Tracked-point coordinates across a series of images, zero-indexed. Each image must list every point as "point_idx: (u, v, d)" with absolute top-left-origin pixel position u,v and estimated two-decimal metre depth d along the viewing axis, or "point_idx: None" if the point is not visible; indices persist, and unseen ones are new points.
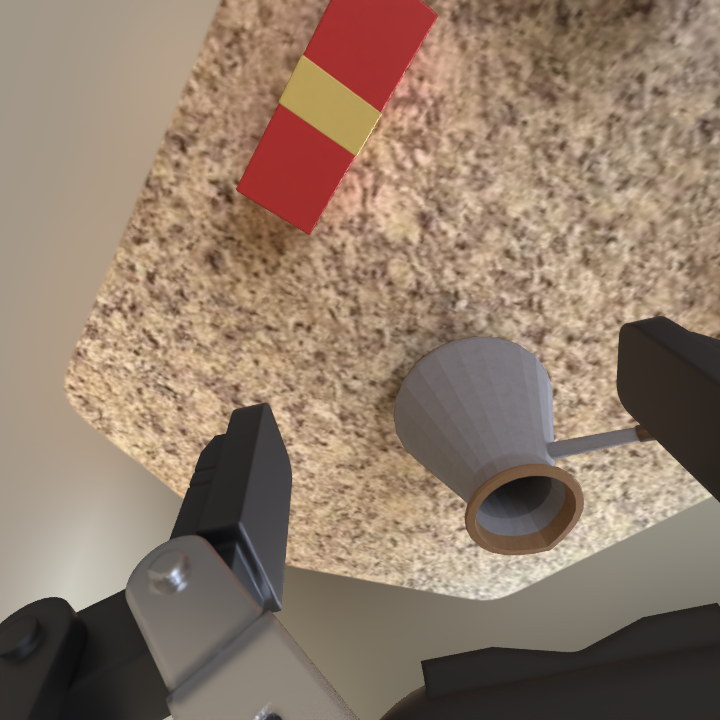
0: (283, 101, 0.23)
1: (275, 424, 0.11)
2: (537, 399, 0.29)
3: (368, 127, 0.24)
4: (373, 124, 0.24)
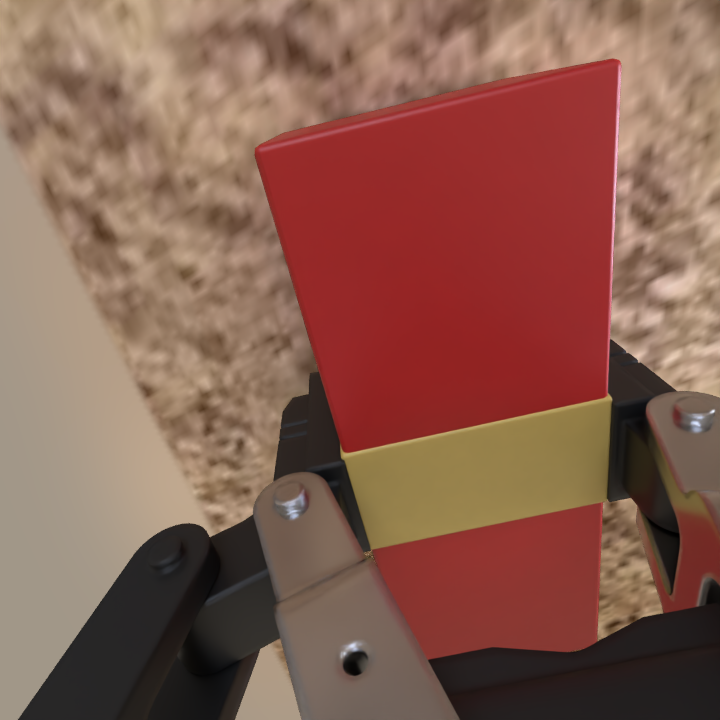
0: (377, 543, 0.09)
1: None
2: None
3: (598, 443, 0.08)
4: (605, 426, 0.08)
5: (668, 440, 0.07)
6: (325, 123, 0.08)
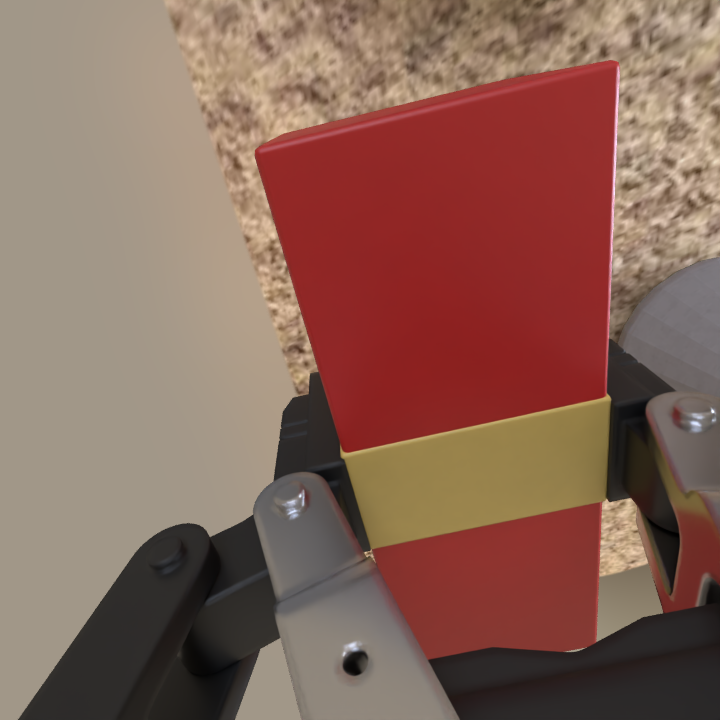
0: (377, 543, 0.09)
1: None
2: None
3: (597, 443, 0.08)
4: (603, 426, 0.08)
5: (668, 440, 0.07)
6: (325, 124, 0.08)
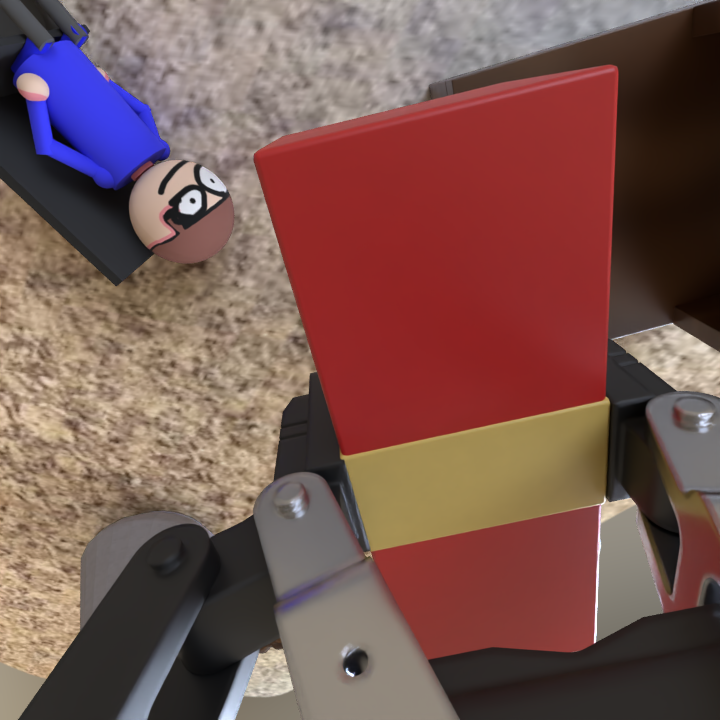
0: (376, 545, 0.09)
1: None
2: None
3: (596, 446, 0.08)
4: (602, 429, 0.08)
5: (668, 440, 0.07)
6: (324, 127, 0.08)
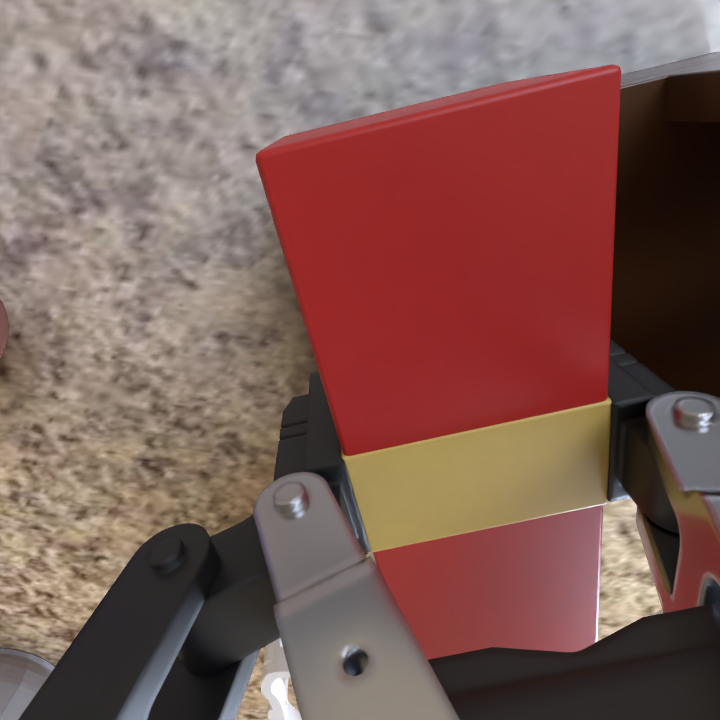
0: (378, 546, 0.09)
1: None
2: None
3: (598, 446, 0.08)
4: (604, 429, 0.08)
5: (668, 440, 0.07)
6: (326, 127, 0.08)
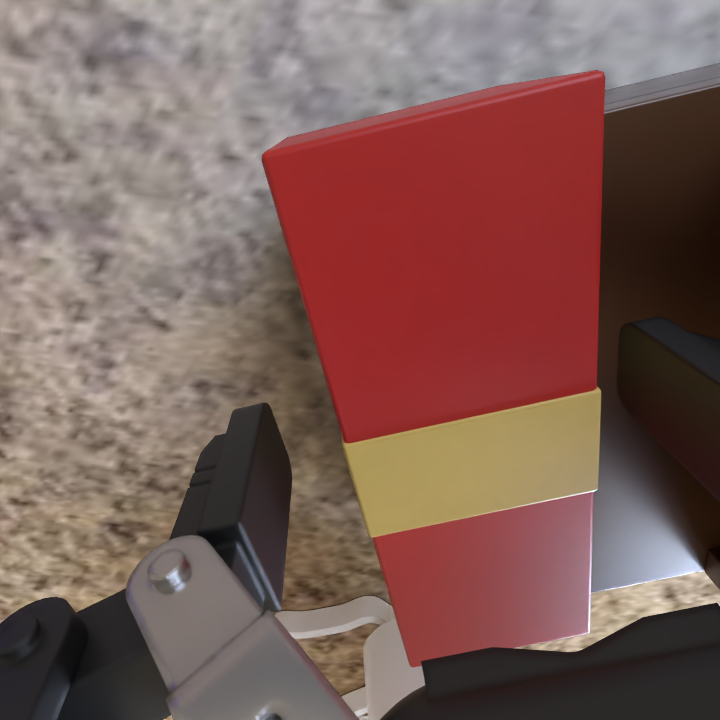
0: (377, 531, 0.09)
1: (275, 424, 0.11)
2: None
3: (588, 434, 0.08)
4: (594, 417, 0.08)
5: None
6: (327, 128, 0.09)
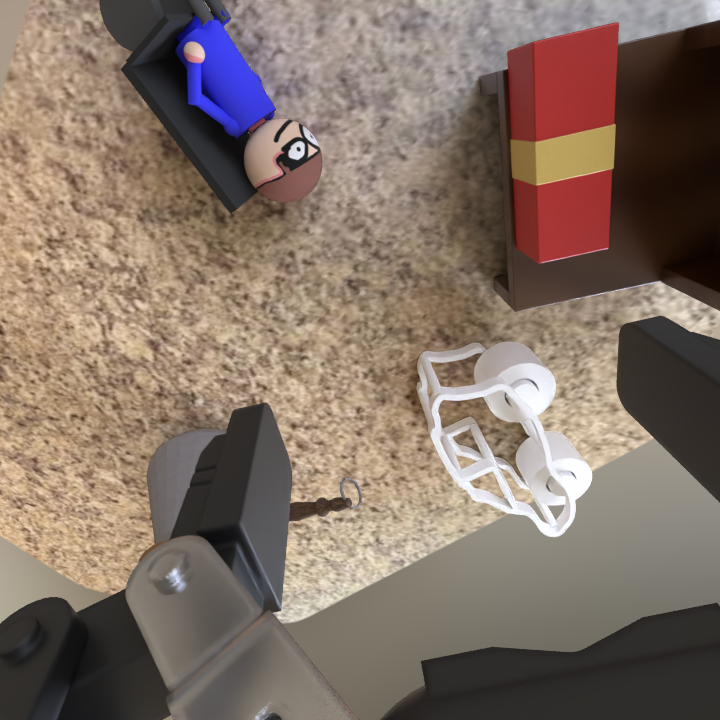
0: (539, 182, 0.27)
1: (275, 424, 0.11)
2: None
3: (611, 142, 0.27)
4: (613, 136, 0.27)
5: None
6: None
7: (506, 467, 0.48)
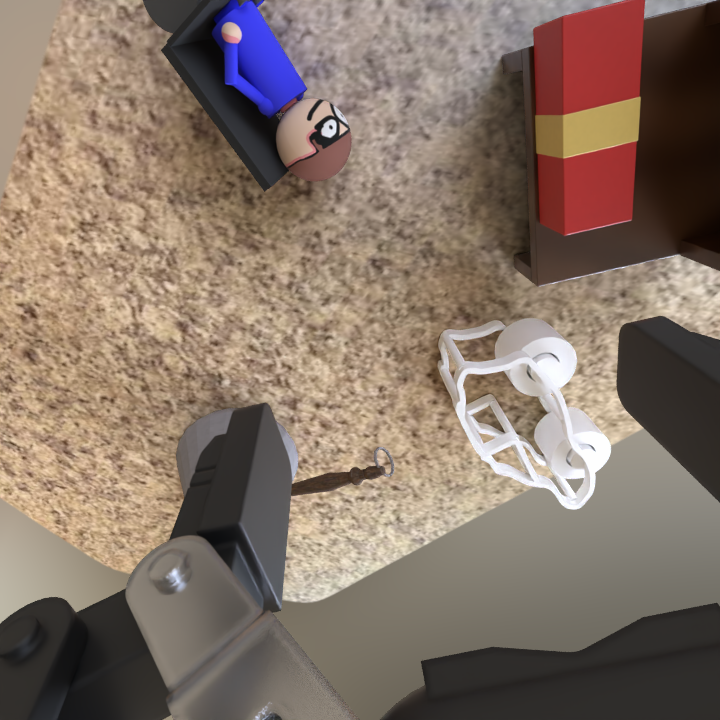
0: (566, 154, 0.28)
1: (275, 424, 0.11)
2: None
3: (636, 114, 0.28)
4: (638, 108, 0.28)
5: None
6: None
7: (525, 443, 0.49)
